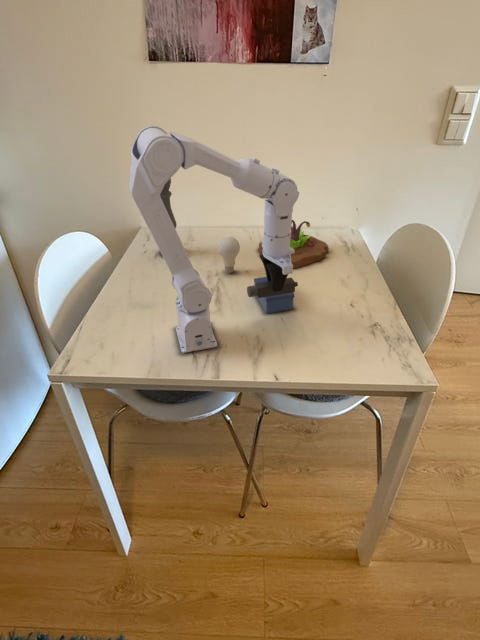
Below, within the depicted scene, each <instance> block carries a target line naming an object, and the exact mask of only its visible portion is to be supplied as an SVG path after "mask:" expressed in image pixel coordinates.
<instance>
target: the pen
mask: <svg viewBox="0 0 480 640" xmlns="http://www.w3.org/2000/svg"><path fill="white" fill-rule="evenodd" d="M298 286H299V282H298V281H295V280H294V279H293V278H292V277H287V278H286V280H285V283H284V286H283V289H282V291H277V292H273V289H272V284H271V281H265V282H259V283H254V285H248V286H247V287H246V294H247V296H248V298H254V297H256V296H257V297H258V298H262V297H268V296H274V295H280V294H286V293H292V292H293V293H295V292H296V287H298ZM257 297H256V298H257ZM258 298H257V299H258Z"/></svg>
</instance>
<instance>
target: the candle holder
mask: <svg viewBox="0 0 480 640" xmlns="http://www.w3.org/2000/svg"><path fill="white" fill-rule="evenodd" d="M171 185H172V177H171V178H170V179H169V180H168V181H167V182H166V183H165V185H164V187H163V189H162V191H161V194H160V197H161V199H162V201H163V203H164V206H165V208H166V210H167V212H168V214H169V216H170V219H171V221H172V223H173V225H174V227H175V229H176V228H177V221H176V217H175V215H174V213H173V210H172V205H171V197H172V194H173V193H172V192H171V191H170V188H171ZM176 230H177V229H176ZM158 251H159V255H160V256H161V257H163V256H162V254H161V252H160V250H159V249H158Z"/></svg>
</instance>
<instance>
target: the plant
mask: <svg viewBox="0 0 480 640" xmlns="http://www.w3.org/2000/svg"><path fill="white" fill-rule="evenodd" d="M304 224H305V225H306V228H309V227H311V223H310V221H307V220H303V221H302V222H301V223H300V224H299V225H298V227H297V225H296V221H295V220H294V219H292V222H291V238H290V247H292V248H293V249H294V250H295V253H294V254H291V263H292V265H293V269H298V268H300V267H303V266H309V265H310V264H313V263H314V262H320V261H321V260H322V259H325V258H326V254H327V253H328V252H329V246H328V244H327V242H326V241H323V240H320V239H318V238H316V237H315V236H312V235H309V234H305V231H304V230H302V229H301V228H302V226H303V225H304ZM258 252H259V253H260V254H261V255H263V247H262V241H261V242H259V244H258Z"/></svg>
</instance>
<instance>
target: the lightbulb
mask: <svg viewBox="0 0 480 640" xmlns="http://www.w3.org/2000/svg"><path fill="white" fill-rule="evenodd" d="M240 245H241V244H240V242H239V240H238V239H237V238H236V237H233V236H229V235H227V236H224V237H222V238H221V239H220V240H219V241H218V243H217V250H218V253H219V255H220V257H221V258H222V261H223V265H224V270H225V272H226V273H227V274H231V273H233V272H234V271H235V265H236V258H237V256H238V255H239V252H240V249H241V246H240Z"/></svg>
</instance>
